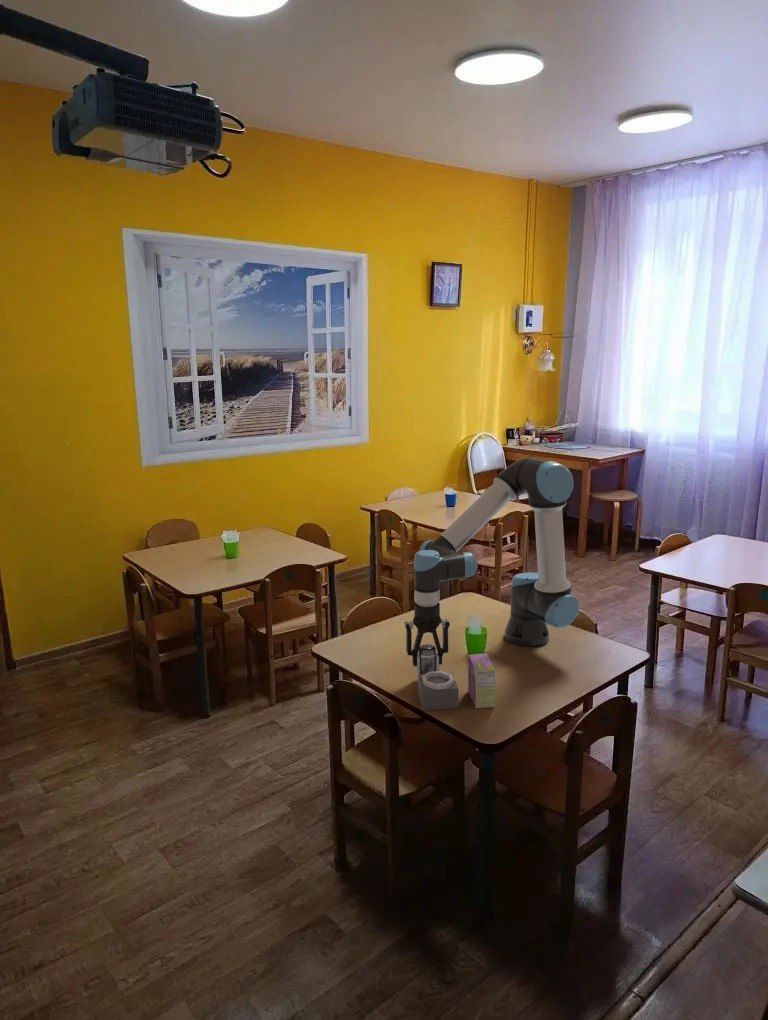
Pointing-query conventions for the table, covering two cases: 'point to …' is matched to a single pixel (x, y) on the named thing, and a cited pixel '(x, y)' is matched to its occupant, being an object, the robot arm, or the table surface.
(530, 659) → the table surface
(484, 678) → the box
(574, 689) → the table surface
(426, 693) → the grey holed block
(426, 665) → the clear grey cylinder
